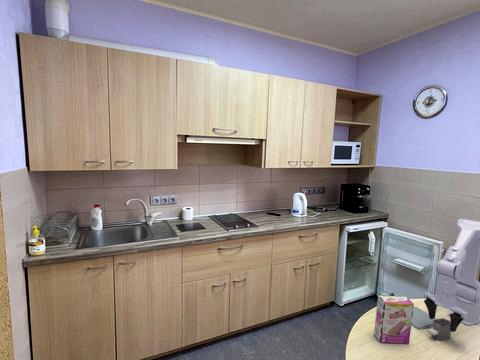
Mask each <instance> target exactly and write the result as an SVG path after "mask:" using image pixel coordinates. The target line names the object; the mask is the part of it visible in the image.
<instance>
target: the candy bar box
mask: <svg viewBox="0 0 480 360" xmlns="http://www.w3.org/2000/svg"><path fill="white" fill-rule="evenodd" d="M413 307H415V304H414V303H413V301H412V300H410V299H409V298H408V297H407V296H396V295H395V296H389V295H377V301H376V310H375V311H376V312H375V321H374V329H373V331H374V332H373V335H374V337H375V338H376V339H377V341H378V342H379V343H381V344H404V345H409V344H410V340H411V339H410V338H411V332H412V331H411V330H412V325H411V323H412V315H413Z"/></svg>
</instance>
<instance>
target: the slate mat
mask: <svg viewBox="0 0 480 360" xmlns="http://www.w3.org/2000/svg"><path fill="white" fill-rule="evenodd" d="M437 319H438V318H437V317H435V318H434V319H430V318H429V313H428V312H427V311H424V309H421V308H419V307H418V306H414V307H413V315H412V323H411V327H414V328H415V329H416V330H417V331H418V330H421V329H425V328H426V329H427V328H429V327H433V320H437Z"/></svg>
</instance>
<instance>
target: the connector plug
mask: <svg viewBox="0 0 480 360" xmlns="http://www.w3.org/2000/svg"><path fill="white" fill-rule="evenodd" d="M450 325H451V320H450V319H447V318H443V317H441V318H437V320H433V326H431V328H429V329H428V330H427V332H428V333H430V334H431V338H433V339H434V340H436V341H439V342H443V341H446V340H450V339H451V334H452V332H451V331H450Z"/></svg>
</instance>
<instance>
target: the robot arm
mask: <svg viewBox="0 0 480 360" xmlns="http://www.w3.org/2000/svg"><path fill="white" fill-rule="evenodd" d="M456 231H457V234H458V236H457V238H456V241H455V242H454V245H450V246H449V247H448V248H447V250H446V252H445V254H444V256H443V258H442V259H439V260H437V262H436V266H435V273H436V278H437V284H436V292H435V294H432V293H430V292H428V291H427V292H423V298H424V300H423V303H424V305H425V307H426V309H427V313H428V314H429V318H430V319H434V318H436V313H437V307H440V308H441V307H442V308H444V309H447V310H449V311H451V312H449V313H447V315H448V316H449V318H450V319H449V320H450V321H451V325H450V331H451V333H454V332H456V331H457V329H458V327H459V326H460V324H461V323H462V324H464V325H466V326H473V325H475V324H480V281H479V280H478V279H477V277H478V270H479V265H480V221H477V220H476V221H475V220H471V219H465V218H459V219H458V220H457V222H456Z"/></svg>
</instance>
